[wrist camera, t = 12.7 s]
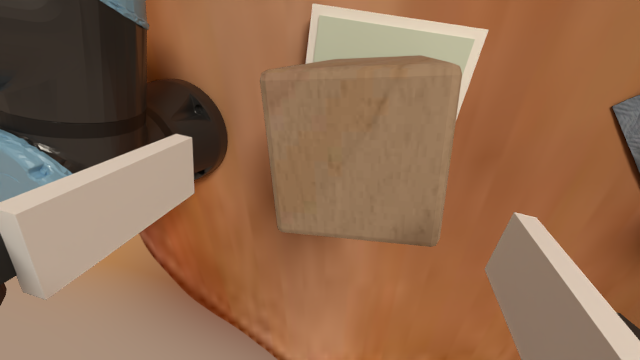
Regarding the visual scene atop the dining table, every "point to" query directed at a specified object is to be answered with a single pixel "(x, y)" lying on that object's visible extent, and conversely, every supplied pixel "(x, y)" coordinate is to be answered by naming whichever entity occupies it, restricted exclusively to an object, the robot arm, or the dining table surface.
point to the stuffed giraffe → (630, 124)
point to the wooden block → (362, 146)
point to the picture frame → (391, 39)
